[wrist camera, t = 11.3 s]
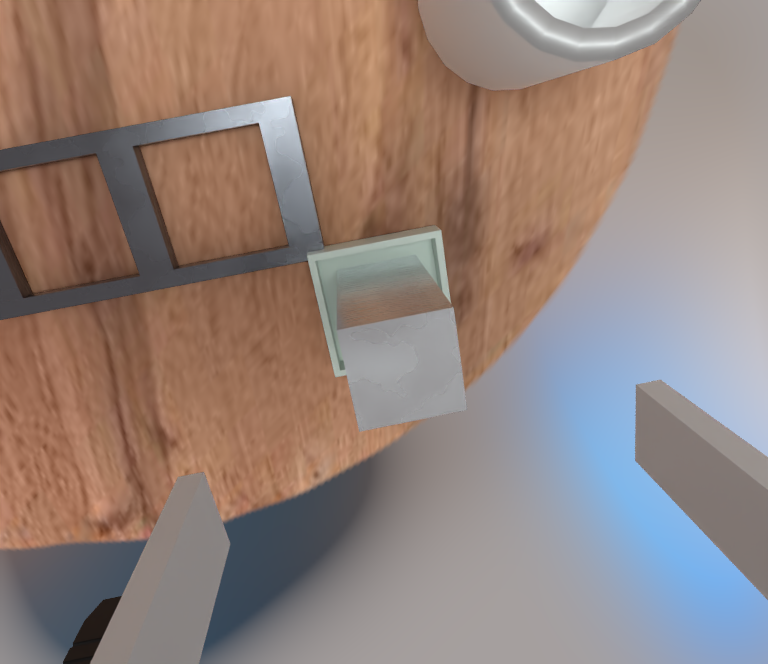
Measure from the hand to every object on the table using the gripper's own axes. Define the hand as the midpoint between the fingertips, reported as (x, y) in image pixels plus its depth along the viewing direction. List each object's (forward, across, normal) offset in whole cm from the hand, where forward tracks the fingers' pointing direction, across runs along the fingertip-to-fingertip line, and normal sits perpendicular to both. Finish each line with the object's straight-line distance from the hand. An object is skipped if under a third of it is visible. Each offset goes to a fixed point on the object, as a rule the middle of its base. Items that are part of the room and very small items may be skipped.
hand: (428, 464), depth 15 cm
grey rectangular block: (+18, 0, 0) cm, 18 cm away
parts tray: (+19, 0, 0) cm, 19 cm away
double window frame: (+19, -13, +8) cm, 24 cm away
